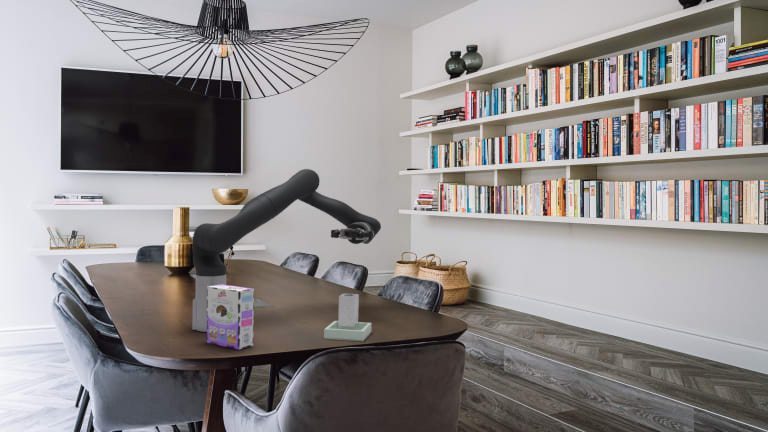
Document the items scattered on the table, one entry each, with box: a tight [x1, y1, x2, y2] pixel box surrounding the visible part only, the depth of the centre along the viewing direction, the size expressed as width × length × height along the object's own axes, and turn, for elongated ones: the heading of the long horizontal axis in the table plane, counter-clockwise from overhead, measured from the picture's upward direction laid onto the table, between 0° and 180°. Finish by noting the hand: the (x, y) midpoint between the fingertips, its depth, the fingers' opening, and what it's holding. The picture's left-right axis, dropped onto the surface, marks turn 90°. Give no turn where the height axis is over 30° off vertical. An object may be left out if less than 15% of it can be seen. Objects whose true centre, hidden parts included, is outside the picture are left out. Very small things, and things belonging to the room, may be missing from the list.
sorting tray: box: [323, 320, 372, 343], centre depth 176 cm, size 12×12×3 cm
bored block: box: [337, 293, 360, 330], centre depth 176 cm, size 5×5×12 cm
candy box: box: [206, 284, 255, 351], centre depth 162 cm, size 14×6×16 cm, turn 56°
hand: (347, 235), depth 189 cm, fingers open, 8 cm apart
